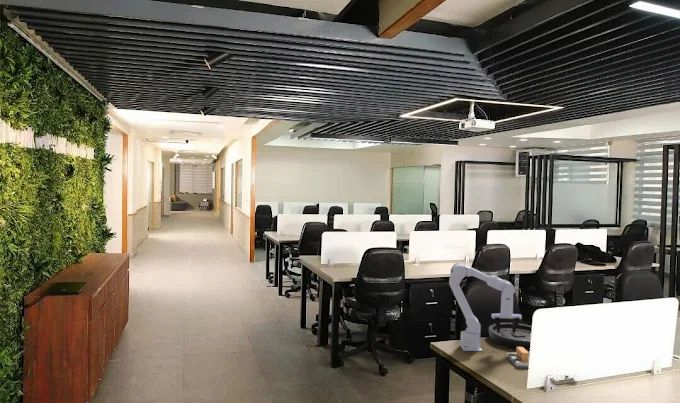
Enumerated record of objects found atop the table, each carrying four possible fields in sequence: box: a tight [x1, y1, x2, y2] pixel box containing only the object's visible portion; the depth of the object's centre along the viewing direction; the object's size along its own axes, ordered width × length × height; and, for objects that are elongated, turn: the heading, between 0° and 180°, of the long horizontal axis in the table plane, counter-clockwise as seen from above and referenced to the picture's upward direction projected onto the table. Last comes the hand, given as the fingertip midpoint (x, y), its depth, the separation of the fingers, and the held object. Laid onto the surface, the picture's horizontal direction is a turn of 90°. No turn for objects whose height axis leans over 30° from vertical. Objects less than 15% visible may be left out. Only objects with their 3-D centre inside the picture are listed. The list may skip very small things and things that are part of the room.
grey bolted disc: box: [488, 322, 532, 351], centre depth 248 cm, size 30×6×30 cm
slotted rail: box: [506, 351, 529, 369], centre depth 218 cm, size 10×13×2 cm
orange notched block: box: [515, 347, 530, 361], centre depth 218 cm, size 3×8×5 cm, turn 179°
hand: (505, 332), depth 233 cm, fingers open, 7 cm apart
